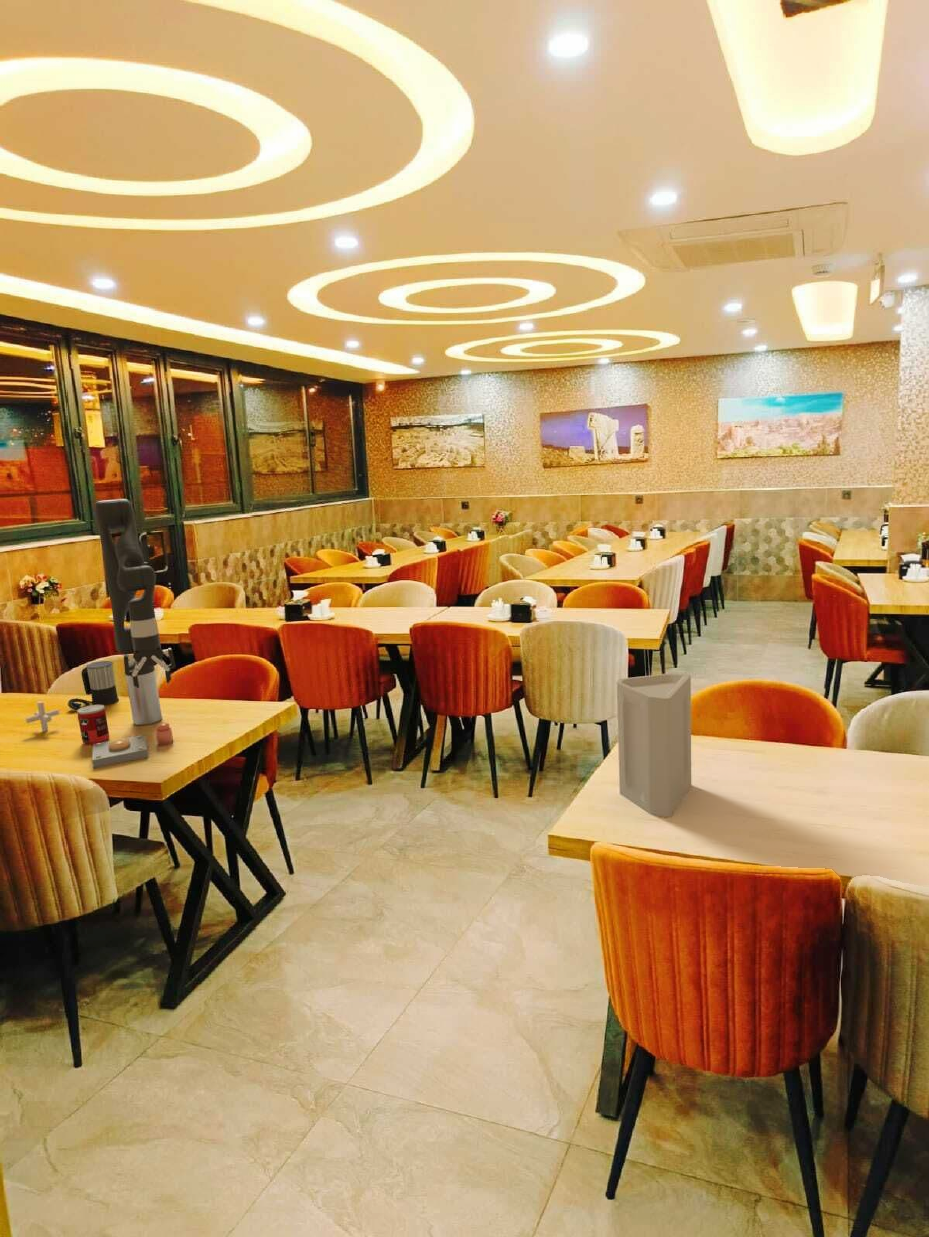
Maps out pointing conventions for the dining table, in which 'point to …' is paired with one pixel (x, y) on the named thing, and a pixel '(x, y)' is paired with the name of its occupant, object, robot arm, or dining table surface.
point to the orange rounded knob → (164, 734)
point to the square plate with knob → (119, 751)
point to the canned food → (93, 724)
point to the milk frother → (97, 685)
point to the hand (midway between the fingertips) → (152, 684)
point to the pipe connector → (42, 716)
